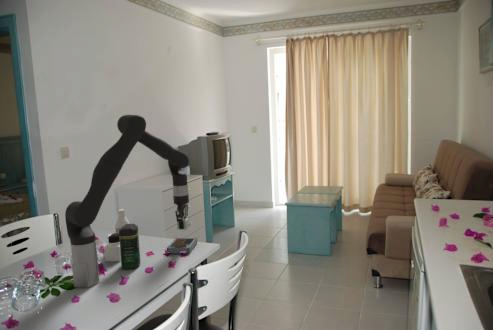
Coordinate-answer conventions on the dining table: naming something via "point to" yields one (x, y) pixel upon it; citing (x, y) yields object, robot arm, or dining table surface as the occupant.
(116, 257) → the medicine bottle
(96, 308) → the dining table surface
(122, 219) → the bath foam
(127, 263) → the coffee jar
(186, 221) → the sage block
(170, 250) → the tray
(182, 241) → the walnut block
